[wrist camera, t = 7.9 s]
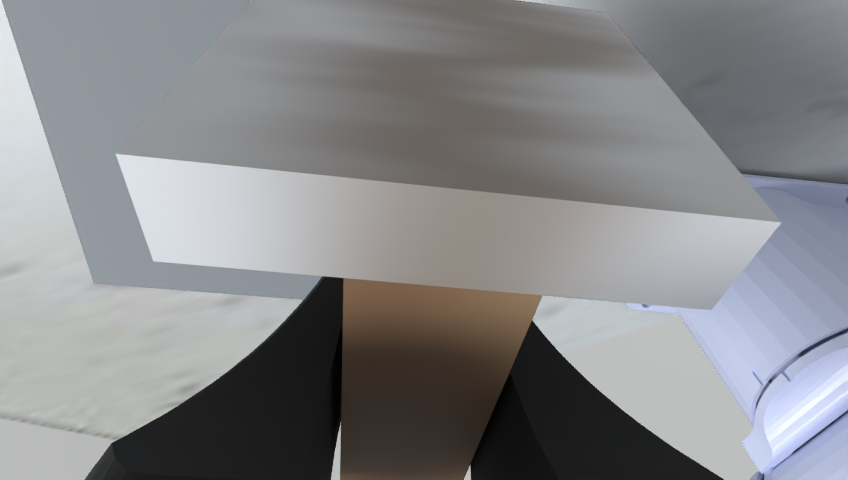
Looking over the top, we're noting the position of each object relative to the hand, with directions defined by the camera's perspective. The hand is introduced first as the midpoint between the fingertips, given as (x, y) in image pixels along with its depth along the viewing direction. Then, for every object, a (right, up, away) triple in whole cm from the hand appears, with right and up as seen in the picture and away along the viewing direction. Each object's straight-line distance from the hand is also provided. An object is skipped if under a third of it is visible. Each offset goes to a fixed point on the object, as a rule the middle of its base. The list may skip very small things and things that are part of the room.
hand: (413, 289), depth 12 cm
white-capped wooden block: (0, +2, +2) cm, 3 cm away
